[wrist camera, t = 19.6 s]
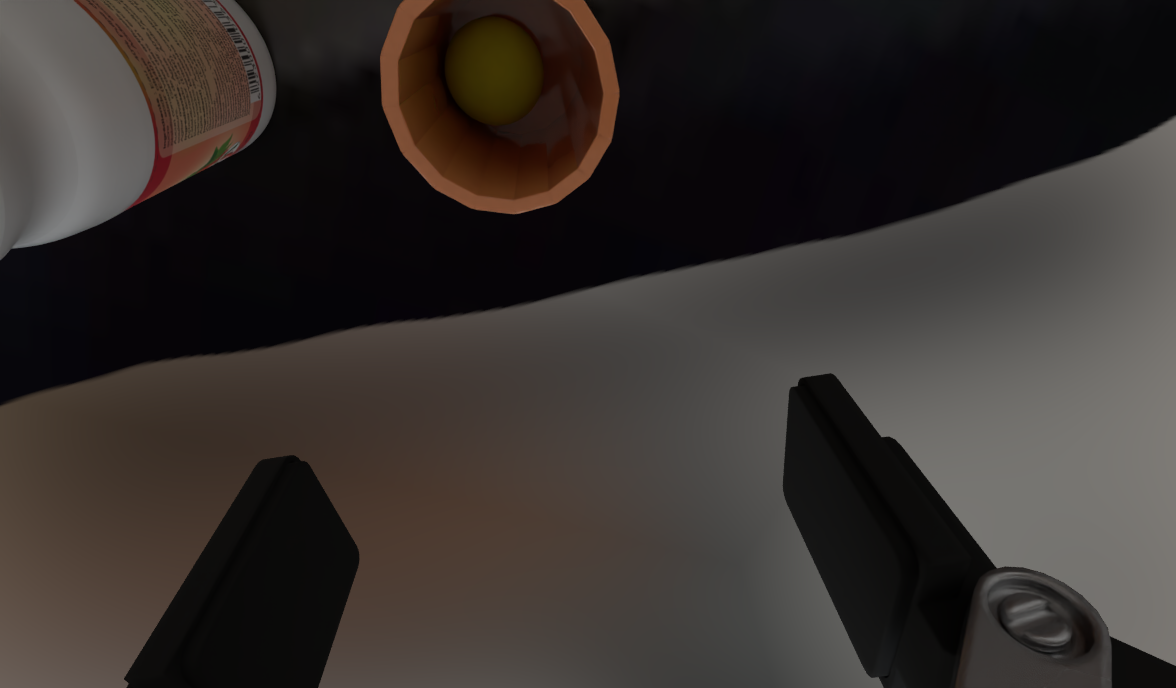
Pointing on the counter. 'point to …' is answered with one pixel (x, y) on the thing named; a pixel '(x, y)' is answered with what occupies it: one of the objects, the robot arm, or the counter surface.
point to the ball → (494, 70)
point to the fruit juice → (119, 105)
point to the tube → (514, 151)
